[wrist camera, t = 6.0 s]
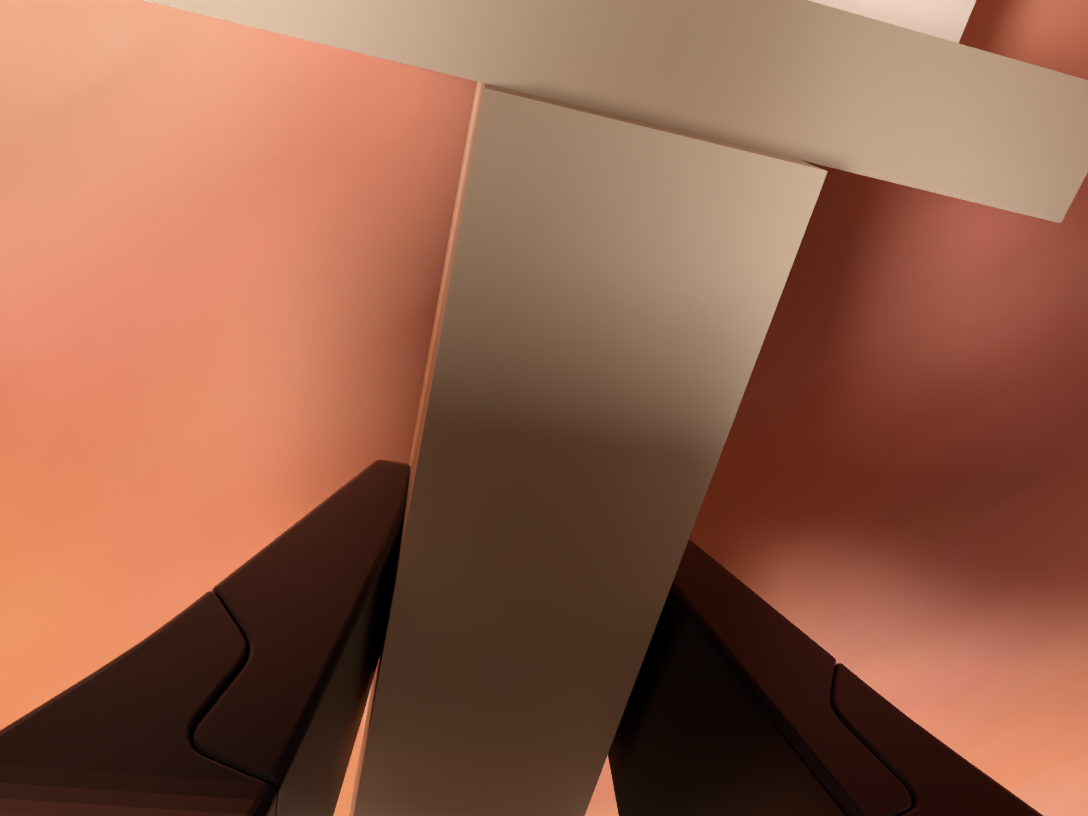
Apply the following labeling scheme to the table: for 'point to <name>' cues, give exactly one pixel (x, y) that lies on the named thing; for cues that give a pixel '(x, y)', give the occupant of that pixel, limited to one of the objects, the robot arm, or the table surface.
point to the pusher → (621, 329)
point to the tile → (913, 14)
